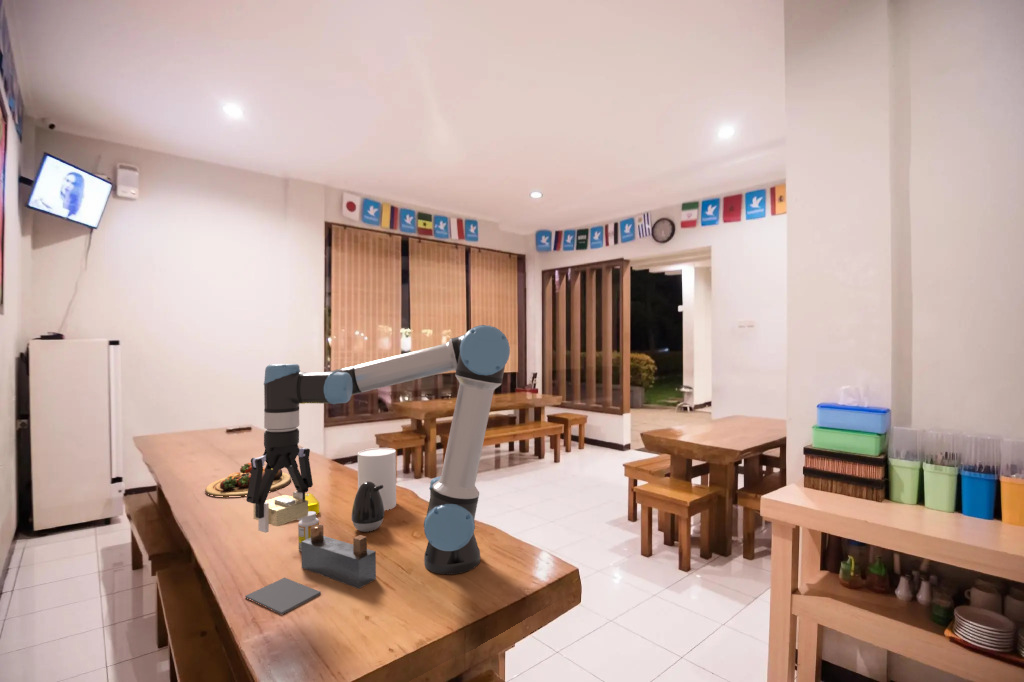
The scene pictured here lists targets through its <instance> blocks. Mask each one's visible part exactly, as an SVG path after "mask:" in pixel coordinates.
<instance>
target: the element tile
mask: <svg viewBox="0 0 1024 682" xmlns="http://www.w3.org/2000/svg"><path fill="white" fill-rule="evenodd" d="M291 496H292V497H293V495H291ZM305 500H307V501H308V512H309V511H314V512H316V514H318V513H319V514H320V501H319V500H318V498H316V497H315V495H314V494H313V493H311V492H309V493H307V492H306V493H305ZM319 514H318V515H319Z"/></svg>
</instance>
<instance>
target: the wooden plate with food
mask: <svg viewBox="0 0 1024 682" xmlns="http://www.w3.org/2000/svg"><path fill="white" fill-rule="evenodd" d="M243 465H244V466H243ZM243 465H241V467H240V468H239V471H240V472H237V471H235V472H232V473H230V474H228V475H227V476H226V477H223V478H220V479H217V480H215V481H213V482H210V483H209V484H208V485H207V486H206V487H205V490H204V492H206V493H207V494H209V495H213V496H223V497H229V496H245V495H247V494H248V488H249V482H250V476H251V470H252V466H251V462H247V463H245V464H243ZM264 470H265V468H264V467H263V473H262V479H263V476H264V474H265V471H264ZM271 470H273V469H272V468H271ZM262 479H261V481H262ZM291 481H292V479H291V476H290V474H289V473H287V472H283V469H280V470H279V471H278V473H277V474H276V475H275V478H274V480H273V483H272V486H271V488H270V491H272V492H274V491H273V490H275V491H277V490H276V489H278V490H280V489H279V488H281V489H283V488H284V486H285V487H286V486H288V485H289V484H290V482H291ZM287 484H288V485H287ZM282 487H283V488H282ZM206 493H205V494H206ZM207 494H206V495H207Z"/></svg>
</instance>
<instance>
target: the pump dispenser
mask: <svg viewBox="0 0 1024 682" xmlns="http://www.w3.org/2000/svg"><path fill="white" fill-rule="evenodd" d="M382 488H383V485H380V486H376V485H375V484H374V483H373V482H365V483H363V484H362V485H361V486H360V487H359V489H358V488H357V491H356V493H355V497H354V501H353V504H352V508H351V521H352V524H353V526H354V528H355V529H356V530H357V531H359V532H363V533H370V532H373V530H374V531H375V530H378V529H379V528H380V527H381V526H382V524H383V521H384V518H385V511H384V506H383V501H382V498H381V495H380V492H379V490H380V489H382ZM369 531H370V532H369Z"/></svg>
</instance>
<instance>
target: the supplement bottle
mask: <svg viewBox="0 0 1024 682" xmlns="http://www.w3.org/2000/svg"><path fill="white" fill-rule="evenodd" d="M314 525H320V519H319V518H317V515H316V512H314V511H309V512H308V516H305V517H303V520H298V525H297V526H298V527H297V528H298V530H297V532H298V533H297V534H298V535H297V536H298V550H299V551H300V552H302V546H301V542H302V541H304V540H307V539H309V538H311V527H312V526H314Z"/></svg>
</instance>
